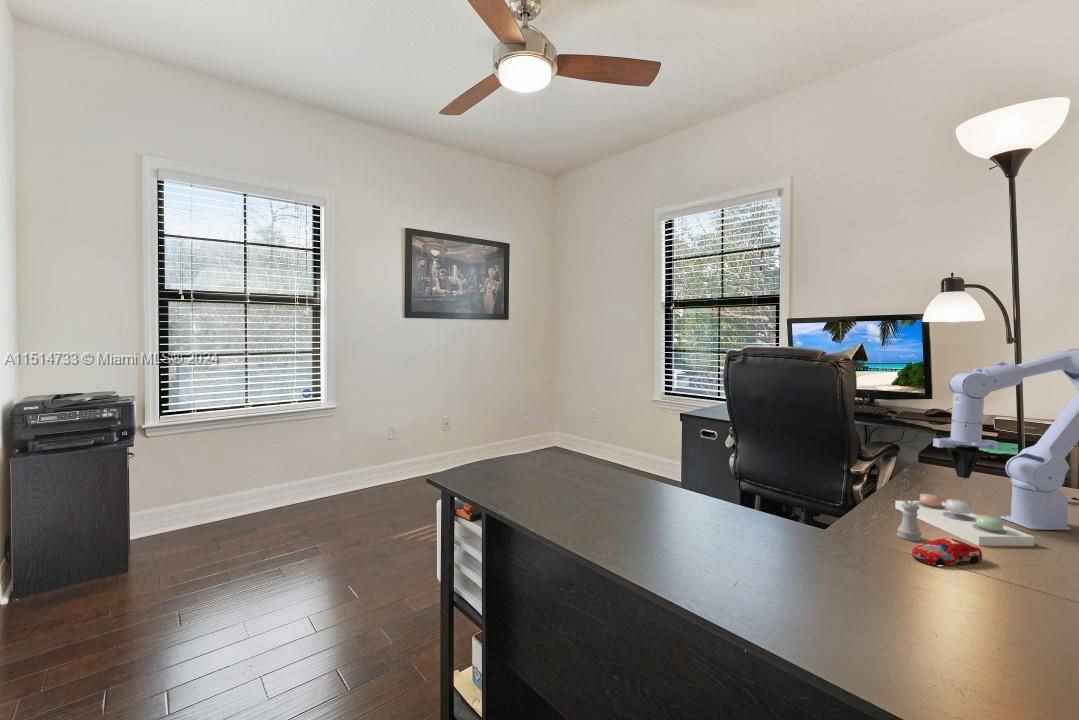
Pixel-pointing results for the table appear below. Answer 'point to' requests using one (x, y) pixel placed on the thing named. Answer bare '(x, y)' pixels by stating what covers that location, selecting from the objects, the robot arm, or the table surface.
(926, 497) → the terracotta button
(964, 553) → the race car
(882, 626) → the table surface
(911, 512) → the rook chess piece
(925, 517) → the button panel
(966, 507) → the grey button
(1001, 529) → the sage button
